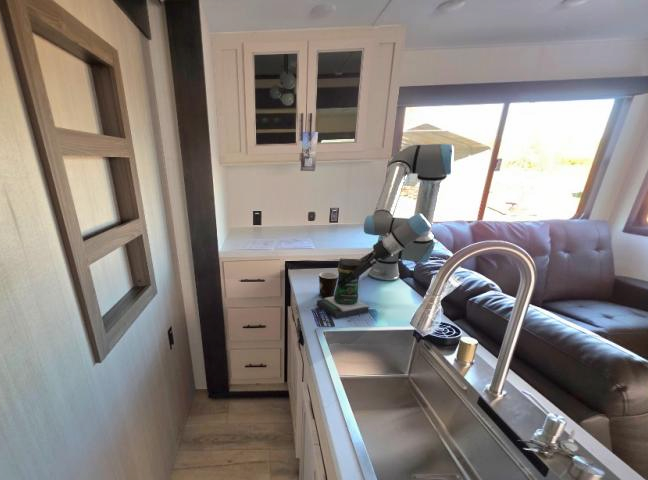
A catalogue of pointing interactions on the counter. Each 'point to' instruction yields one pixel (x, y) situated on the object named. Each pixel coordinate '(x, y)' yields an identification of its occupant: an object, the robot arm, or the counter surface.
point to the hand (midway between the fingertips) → (342, 279)
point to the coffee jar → (350, 290)
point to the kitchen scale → (341, 308)
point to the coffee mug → (327, 284)
